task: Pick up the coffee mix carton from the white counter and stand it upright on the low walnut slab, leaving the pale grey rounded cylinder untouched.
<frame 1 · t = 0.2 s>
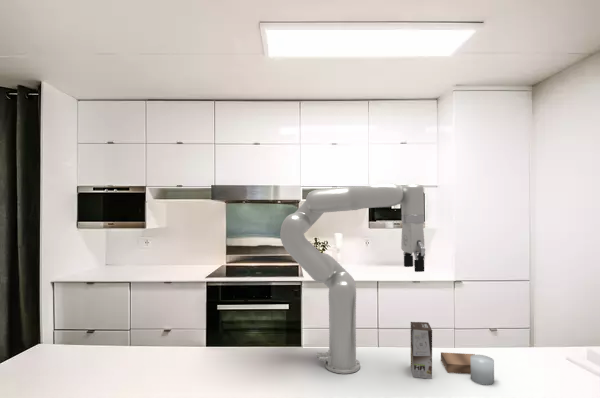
hand: (413, 269, 132), 35 cm above the countertop, tool pointing down, fingers open, 9 cm apart
walnut slab: (461, 367, 134), on the countertop
coffee box: (421, 372, 130), on the countertop
pale grey rounded cylinder: (482, 380, 125), on the countertop
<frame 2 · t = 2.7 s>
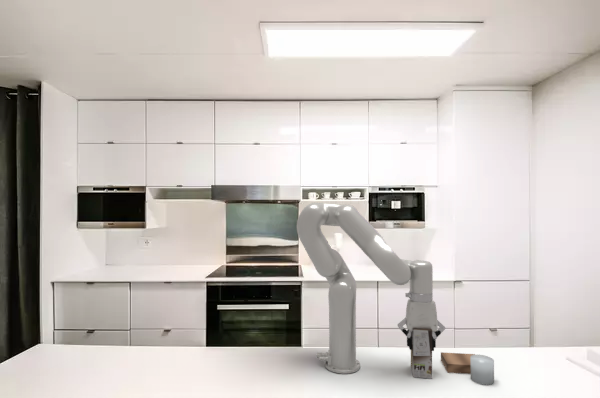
hand: (421, 348, 130), 8 cm above the countertop, tool pointing down, fingers closed on coffee box, 6 cm apart
coffee box: (421, 372, 130), on the countertop, touching gripper
everything else where it was.
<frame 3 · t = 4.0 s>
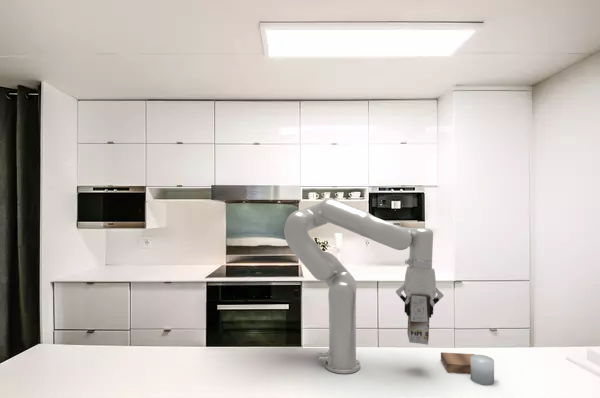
hand: (418, 315, 131), 20 cm above the countertop, tool pointing down, fingers closed on coffee box, 6 cm apart
coffee box: (417, 339, 131), point 11 cm above the countertop, touching gripper
everything else where it was.
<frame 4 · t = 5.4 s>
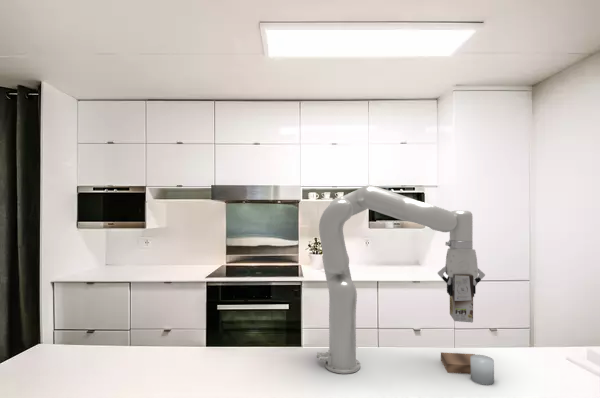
hand: (461, 295, 134), 26 cm above the countertop, tool pointing down, fingers closed on coffee box, 6 cm apart
coffee box: (461, 318, 134), point 17 cm above the countertop, touching gripper
everything else where it was.
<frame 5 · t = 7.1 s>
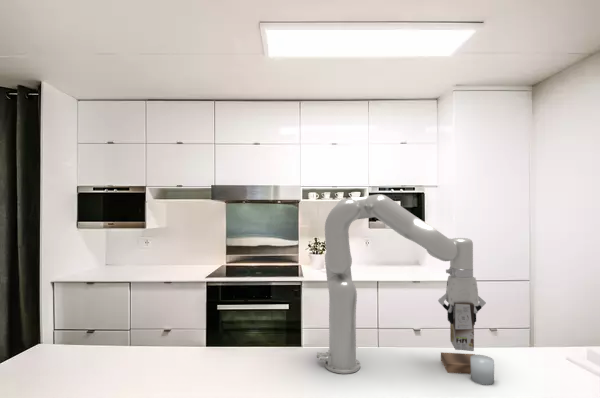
hand: (461, 322, 134), 16 cm above the countertop, tool pointing down, fingers closed on coffee box, 6 cm apart
coffee box: (461, 346, 134), point 7 cm above the countertop, touching gripper
everything else where it was.
when the fingers open (12 cm above the countertop, at t = 8.3 s): coffee box drops 1 cm, resting on walnut slab.
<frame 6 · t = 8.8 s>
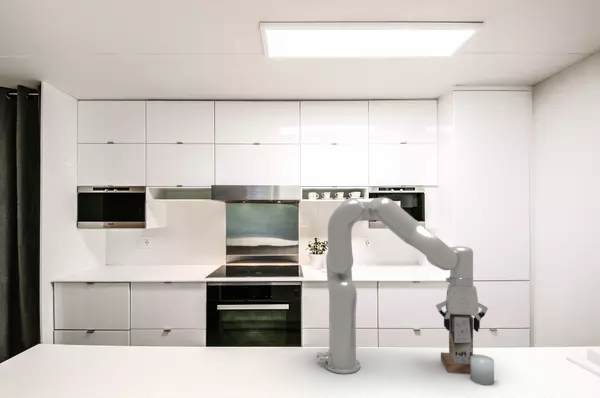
hand: (461, 329, 134), 13 cm above the countertop, tool pointing down, fingers open, 9 cm apart
coffee box: (460, 359, 134), point 3 cm above the countertop, touching walnut slab
everything else where it was.
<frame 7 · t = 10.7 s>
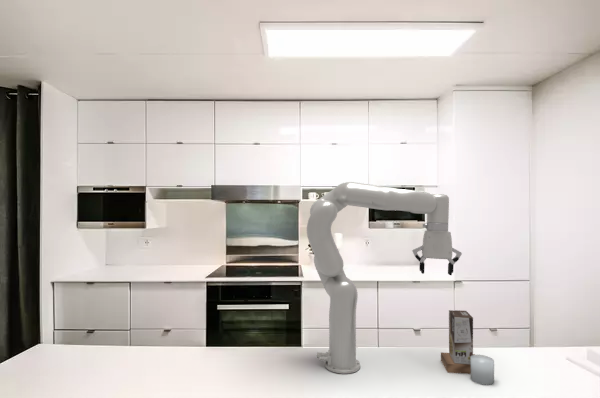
hand: (436, 273, 140), 32 cm above the countertop, tool pointing down, fingers open, 9 cm apart
nothing on the countertop moved.
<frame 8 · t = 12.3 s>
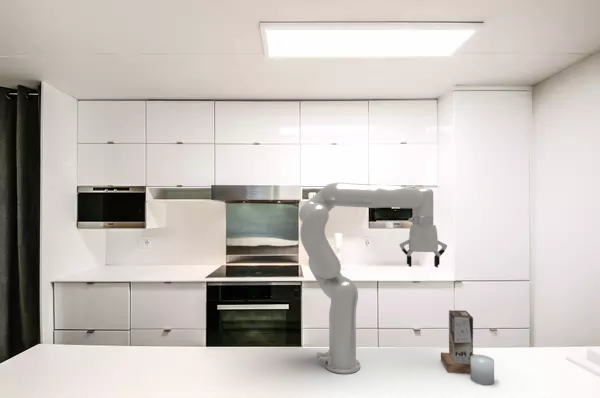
hand: (422, 266, 143), 34 cm above the countertop, tool pointing down, fingers open, 9 cm apart
nothing on the countertop moved.
at the end: coffee box inside the target area on the walnut slab (0.4 cm from its centre), point 2.8 cm above the walnut slab's base; coffee box tilted 0°; the gripper is holding nothing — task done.
